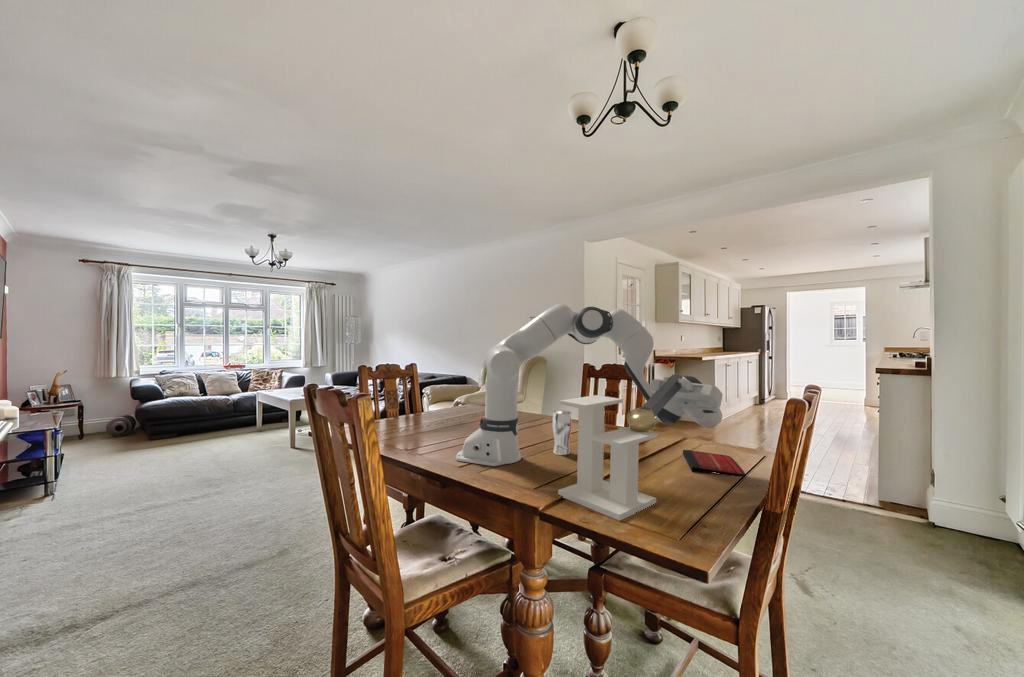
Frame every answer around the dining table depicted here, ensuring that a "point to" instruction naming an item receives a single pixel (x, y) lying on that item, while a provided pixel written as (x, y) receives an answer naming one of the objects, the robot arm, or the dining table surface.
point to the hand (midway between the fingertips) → (672, 379)
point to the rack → (591, 488)
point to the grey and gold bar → (653, 406)
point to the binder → (712, 463)
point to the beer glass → (562, 431)
